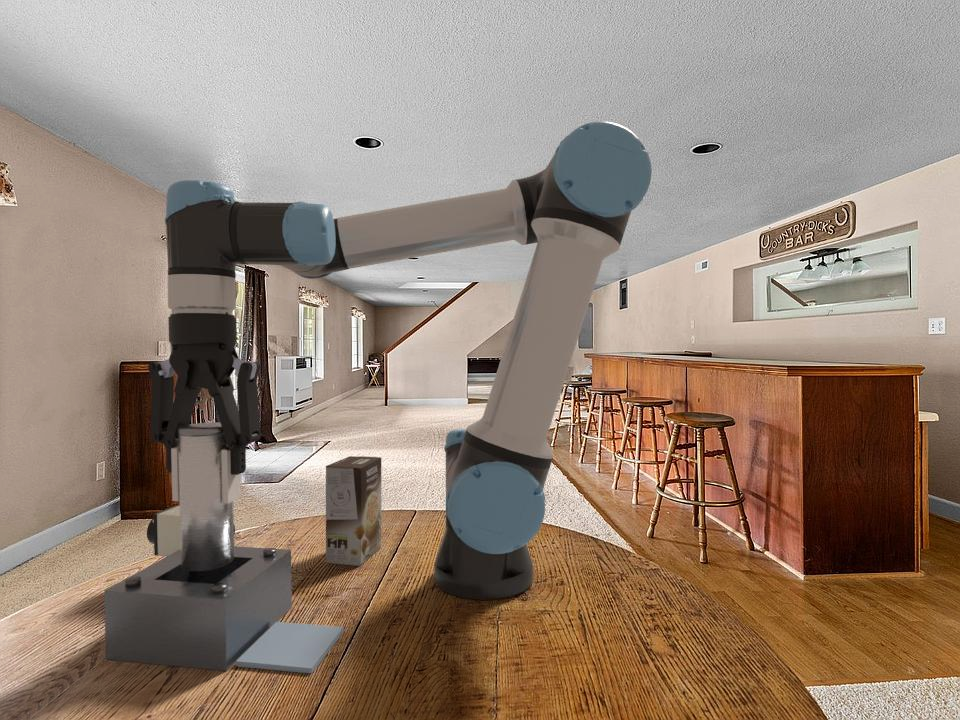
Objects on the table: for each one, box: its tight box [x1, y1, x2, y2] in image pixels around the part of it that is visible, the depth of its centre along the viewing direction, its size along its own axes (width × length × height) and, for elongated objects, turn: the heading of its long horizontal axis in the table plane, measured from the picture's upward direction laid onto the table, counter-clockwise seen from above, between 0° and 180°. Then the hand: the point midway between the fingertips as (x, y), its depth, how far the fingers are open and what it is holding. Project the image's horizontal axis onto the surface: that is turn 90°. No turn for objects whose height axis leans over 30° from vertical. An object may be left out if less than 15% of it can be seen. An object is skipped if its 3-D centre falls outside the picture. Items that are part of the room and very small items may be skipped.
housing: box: [103, 545, 293, 672], centre depth 71 cm, size 15×15×9 cm
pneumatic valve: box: [146, 504, 236, 557], centre depth 85 cm, size 6×12×12 cm, turn 78°
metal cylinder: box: [178, 421, 235, 571], centre depth 71 cm, size 6×6×17 cm
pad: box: [235, 621, 345, 675], centre depth 67 cm, size 9×9×1 cm
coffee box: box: [325, 455, 383, 567], centre depth 96 cm, size 9×6×16 cm
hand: (206, 498), depth 71 cm, fingers closed on metal cylinder, 6 cm apart
